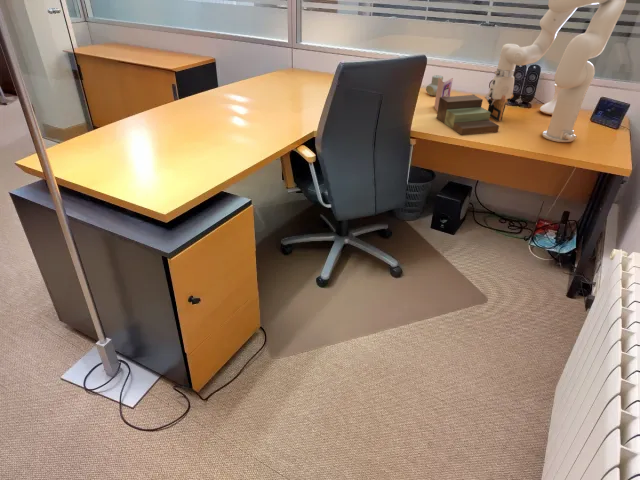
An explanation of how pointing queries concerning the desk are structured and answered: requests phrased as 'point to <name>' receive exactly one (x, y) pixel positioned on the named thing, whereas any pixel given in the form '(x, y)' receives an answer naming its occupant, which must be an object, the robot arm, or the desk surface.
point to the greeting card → (442, 90)
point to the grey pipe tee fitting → (433, 85)
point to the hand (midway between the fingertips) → (495, 111)
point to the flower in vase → (551, 102)
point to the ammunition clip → (498, 109)
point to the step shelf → (465, 115)
